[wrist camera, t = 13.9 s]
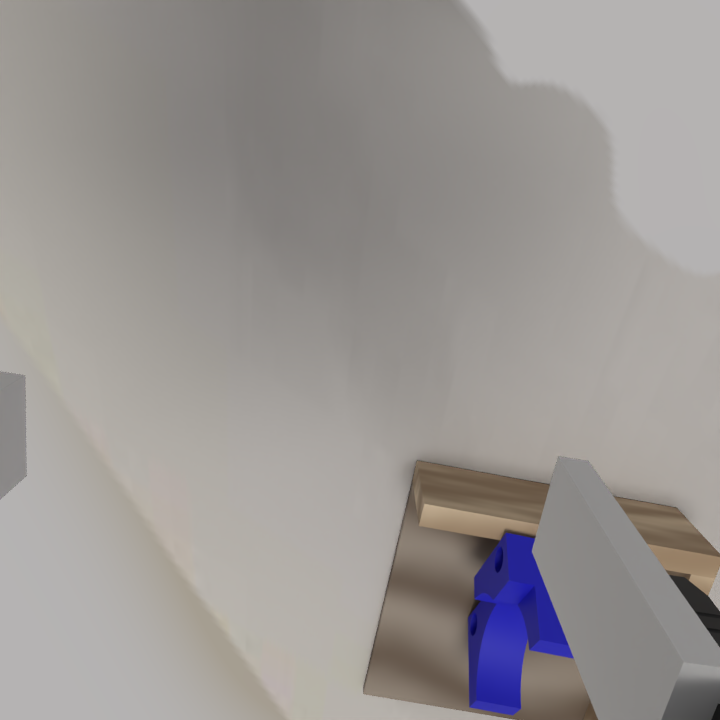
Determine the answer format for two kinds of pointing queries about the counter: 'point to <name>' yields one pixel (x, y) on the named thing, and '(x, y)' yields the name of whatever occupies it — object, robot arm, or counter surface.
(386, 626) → the corner board
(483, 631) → the cable clip
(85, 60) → the counter surface
